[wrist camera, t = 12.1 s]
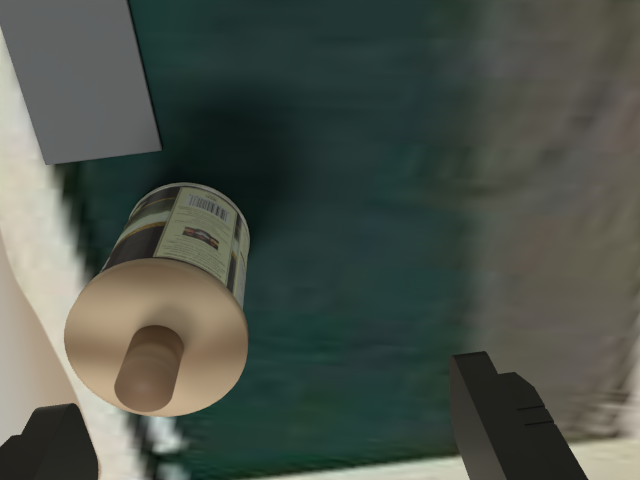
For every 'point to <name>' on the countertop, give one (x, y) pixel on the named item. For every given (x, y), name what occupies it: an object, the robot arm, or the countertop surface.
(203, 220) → the coffee can
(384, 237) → the countertop surface
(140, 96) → the mat
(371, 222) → the countertop surface
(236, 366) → the lid
